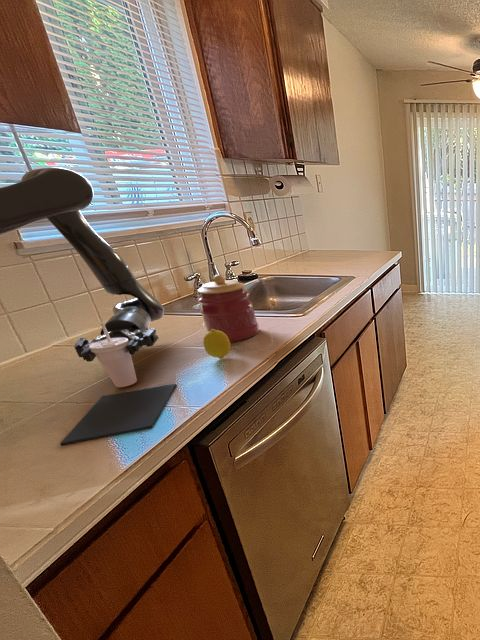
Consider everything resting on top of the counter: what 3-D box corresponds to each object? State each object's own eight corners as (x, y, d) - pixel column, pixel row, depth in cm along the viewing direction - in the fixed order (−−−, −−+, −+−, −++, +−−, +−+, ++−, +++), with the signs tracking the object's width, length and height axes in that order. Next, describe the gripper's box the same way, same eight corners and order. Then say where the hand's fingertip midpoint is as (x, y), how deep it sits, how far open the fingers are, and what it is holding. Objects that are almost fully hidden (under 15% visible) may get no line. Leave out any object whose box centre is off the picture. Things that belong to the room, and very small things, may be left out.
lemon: (223, 364, 98) (214, 333, 95) (203, 362, 99) (193, 332, 96) (239, 355, 103) (230, 325, 100) (220, 353, 104) (211, 325, 101)
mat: (61, 445, 68) (59, 443, 68) (103, 397, 83) (102, 395, 83) (152, 428, 73) (151, 425, 73) (176, 385, 88) (176, 383, 88)
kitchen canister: (198, 342, 112) (177, 279, 104) (232, 326, 123) (215, 269, 116) (238, 344, 110) (220, 281, 102) (269, 328, 121) (255, 270, 114)
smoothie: (148, 374, 92) (125, 316, 86) (138, 387, 86) (113, 326, 80) (114, 379, 90) (88, 320, 84) (101, 392, 84) (72, 330, 78)
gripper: (80, 319, 91) (54, 343, 78) (157, 310, 98) (146, 330, 84) (93, 349, 94) (71, 377, 81) (167, 338, 101) (158, 362, 87)
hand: (109, 353), depth 83 cm, fingers closed on smoothie, 6 cm apart
